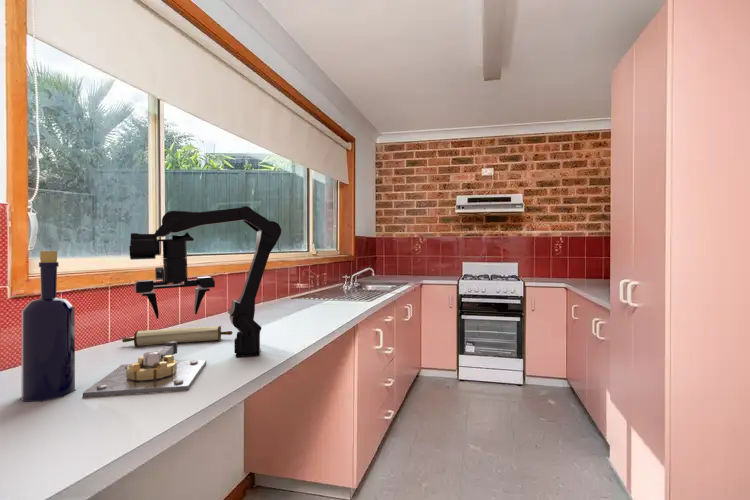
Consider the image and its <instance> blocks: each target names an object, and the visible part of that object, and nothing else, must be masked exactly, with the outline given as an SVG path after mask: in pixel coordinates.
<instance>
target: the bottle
mask: <svg viewBox="0 0 750 500" xmlns="http://www.w3.org/2000/svg"><path fill="white" fill-rule="evenodd" d="M39 260H40V262H38V268H39V270H40V271H39V275H40V276H39V277H40V298H37V299H33V300H30V301H29V302H28V304H26V305H25V307H24V308H23V309H21V371H20V372H21V375H20V377H21V382H20V383H21V386H20V387H21V389H20V390H21V391H20V392H21V397H20V399H21V398H22V399H23V401H24V402H23V401H22V402H23V403H30V402H31V403H32V402H33V403H35V402H39V403H40V402H42V403H43V402H47V401H50V400H55V399H56V400H57V399H59V398H64V397H66V396H68V395H70V394H71V393H75V392H76V390H77V389H76V369H75V368H76V358H75V357H76V354H75V353H76V349H75V348H76V347H75V346H76V345H75V343H76V341H75V339H76V338H75V337H76V335H75V333H76V331H75V330H76V329H75V327H76V326H75V325H76V324H75V323H76V322H75V321H76V320H75V319H76V318H75V317H76V316H75V315H76V314H75V311H76V310H75V307H74V305H72V303H70V302H69V301H68V299H66V298H63V297H62V298H61V297H57V289H58V287H57V282H58V281H57V280H58V268H59V262H58V251H57V250H40V251H39ZM22 399H21V400H22Z"/></svg>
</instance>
